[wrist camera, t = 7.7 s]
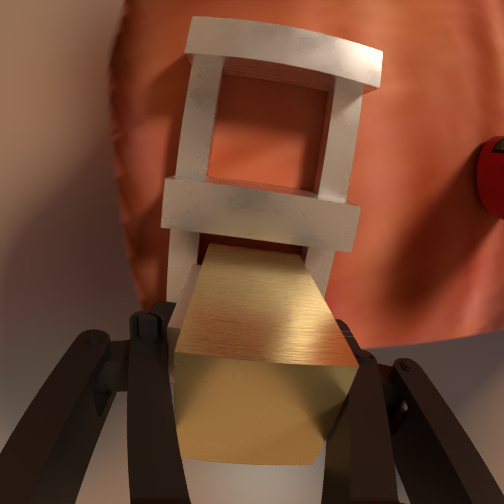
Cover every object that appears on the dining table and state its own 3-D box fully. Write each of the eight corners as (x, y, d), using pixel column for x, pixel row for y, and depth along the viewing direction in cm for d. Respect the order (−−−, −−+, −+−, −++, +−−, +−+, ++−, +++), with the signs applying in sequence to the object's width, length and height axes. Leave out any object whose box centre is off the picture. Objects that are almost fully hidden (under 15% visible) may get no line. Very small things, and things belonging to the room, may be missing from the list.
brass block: (209, 242, 17) (174, 351, 7) (298, 254, 17) (359, 365, 8) (201, 321, 18) (175, 456, 9) (282, 330, 19) (312, 464, 9)
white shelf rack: (201, 41, 16) (192, 16, 12) (357, 68, 16) (382, 51, 13) (169, 331, 22) (157, 364, 18) (303, 346, 22) (314, 380, 19)
